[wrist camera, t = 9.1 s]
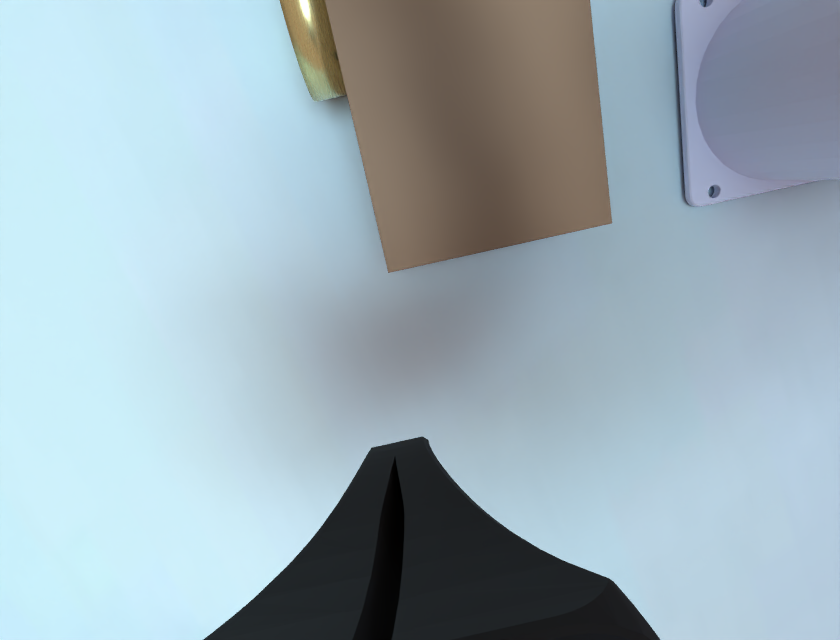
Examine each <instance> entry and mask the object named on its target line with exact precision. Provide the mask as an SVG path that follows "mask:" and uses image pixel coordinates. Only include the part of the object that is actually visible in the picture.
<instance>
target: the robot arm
mask: <svg viewBox="0 0 840 640" xmlns="http://www.w3.org/2000/svg"><path fill="white" fill-rule="evenodd" d="M675 21H676V39H677V56H678V74H679V92H680V109H681V127H682V145H683V162H684V180H685V197H686V201H687V202H688V203H689V204H690V205H692V206H706V205H710V204H715V203H719V202H724V201H728V200H733V199H737V198H742V197H746V196H751V195H755V194H760V193H764V192H769V191H773V190H778V189H783V188H787V187H792V186H796V185H801V184H805V183H810V182H814V181H819V180H825V179H840V0H707V4H706V7H703V6H702V5H701V4H700V1H699V0H676V2H675ZM711 186H713V187H714V194H713V195H712V196H711V197H710V196H709V195H708V190H709V188H710V187H711ZM204 640H660V639H659V637H658V636H657V635H656V633H655V632H654V631H653V629H652V628H651V626H650V625H649V624H648V623H647V621H646V620H645V619H644V617H643V616H642V615H641V614H640V612H639V611H638V610H637V609H636V607H635V606H634V605H633V604H632V602H631V601H630V600H629V599H628V598H627V597H626V595H625V594H624V593H623V592H622V591H621V590H620V588H619V587H618V586H617V585H616V584H615V583H614V582H613V581H612V580H611V579H609V578H606V577H604V576H601V575H599V574H596V573H593V572H591V571H588V570H586V569H583V568H580V567H578V566H575V565H573V564H570V563H568V562H565V561H563V560H561V559H559V558H557V557H555V556H553V555H551V554H549V553H547V552H545V551H543V550H540V549H539V548H537V547H536V546H534V545H532V544H531V543H529V542H527V541H526V540H524V539H522V538H521V537H519V536H517V535H516V534H514V533H513V532H511V531H510V530H508V529H507V528H506V527H504V526H503V525H502V524H500V523H499V522H497V521H496V520H495V519H494V518H492V517H491V516H490V515H489V514H487V513H486V512H485V511H484V510H483V509H482V508H480V507H479V506H478V505H477V504H476V503H475V502H474V501H473V500H472V499H471V498H470V497H469V496H468V495H467V494H466V493H465V492H464V491H463V490H462V489H461V488H460V487H459V486H458V485H457V484H456V483H455V481H454V480H453V479H452V478H451V477H450V475H449V474H448V473H447V472H446V470H445V469H444V468H443V467H442V465H441V464H440V462H439V461H438V459H437V458H436V456H435V455H434V453H433V451H432V449H431V447H430V445H429V441H428V440H427V439H426V438H424V437H423V436H422V437H418V438H413V439H409V440H405V441H400V442H396V443H391V444H387V445H382V446H378V447H373V448H371V450H370V451H369V453H368V454H367V456H366V458H365V459H364V461H363V463H362V465H361V466H360V468H359V470H358V472H357V473H356V475H355V477H354V478H353V480H352V482H351V484H350V485H349V487H348V488H347V490H346V491H345V493H344V495H343V496H342V498H341V499H340V501H339V503H338V504H337V506H336V507H335V508H334V510H333V511H332V513H331V514H330V515H329V517H328V518H327V520H326V521H325V522H324V524H323V525H322V527H321V528H320V529H319V531H318V532H317V533H316V534H315V536H314V537H313V538H312V539H311V540H310V542H309V543H308V544H307V545H306V546H305V547H304V548H303V550H302V551H301V552H300V553H299V554H298V555H297V556H296V557H295V559H294V560H293V561H292V562H291V563H290V564H289V565H288V566H287V567H286V568H285V569H284V570H283V571H282V572H281V573H280V574H279V575H278V576H277V577H276V578H275V579H274V580H273V581H271V582H270V583H269V584H268V585H267V586H266V587H265V588H264V589H263V590H262V591H261V592H260V593H259V594H258V595H257V596H256V597H255V598H254V599H253V600H251V601H250V602H249V603H248V604H247V605H246V606H244V607H243V608H242V609H241V610H240V611H239V612H237V613H236V614H235V615H234V616H233V617H232V618H230V619H229V620H228V621H226V622H225V623H224V624H223V625H221V626H220V627H219V628H218V629H216V630H215V631H214V632H213V633H211V634H210V635H209V636H208V637H206V638H205V639H204Z"/></svg>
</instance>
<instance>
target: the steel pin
mask: <svg viewBox="0 0 840 640" xmlns="http://www.w3.org/2000/svg"><path fill="white" fill-rule="evenodd" d="M280 3H281V7H282V10H283V14H284V18H285V21H286V25H287V28H288V32H289V35H290V38H291V41H292V45H293V48H294V51H295V54H296V57H297V60H298V63H299V66H300V69H301V72H302V75H303V78H304V80H305V83H306V85H307V88H308V90H309V92H310V95H311V97H312V99H313V100H314V101H315V102H318V101H322V100H327V99H331V98H336V97H340V96H345V95H347V93H346V89H345V84H344V80H343V76H342V71H341V67H340V63H339V59H338V54H337V50H336V46H335V41H334V37H333V33H332V28H331V24H330V20H329V16H328V11H327V7H326V3H325V0H280Z"/></svg>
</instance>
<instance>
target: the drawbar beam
mask: <svg viewBox="0 0 840 640" xmlns="http://www.w3.org/2000/svg"><path fill="white" fill-rule="evenodd" d="M325 3H326V7H327V11H328V16H329V20H330V24H331V28H332V33H333V37H334V41H335V46H336V50H337V54H338V59H339V63H340V67H341V71H342V76H343V80H344V84H345V89H346V93H347V97H348V101H349V106H350V110H351V114H352V119H353V123H354V127H355V131H356V136H357V140H358V144H359V149H360V153H361V157H362V161H363V166H364V170H365V174H366V179H367V183H368V187H369V191H370V196H371V200H372V204H373V209H374V213H375V217H376V222H377V226H378V230H379V234H380V239H381V243H382V247H383V252H384V256H385V260H386V264H387V269H388V273H390V272H394V271H399V270H403V269H408V268H412V267H417V266H421V265H426V264H430V263H435V262H439V261H444V260H448V259H453V258H457V257H462V256H467V255H471V254H476V253H480V252H485V251H489V250H494V249H498V248H503V247H507V246H512V245H516V244H521V243H525V242H530V241H534V240H539V239H543V238H548V237H552V236H557V235H561V234H566V233H570V232H575V231H579V230H584V229H588V228H593V227H597V226H602V225H606V224H611V223H612V218H611V208H610V198H609V188H608V178H607V168H606V158H605V148H604V138H603V128H602V117H601V107H600V97H599V87H598V77H597V67H596V57H595V47H594V37H593V27H592V17H591V7H590V0H325Z"/></svg>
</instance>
